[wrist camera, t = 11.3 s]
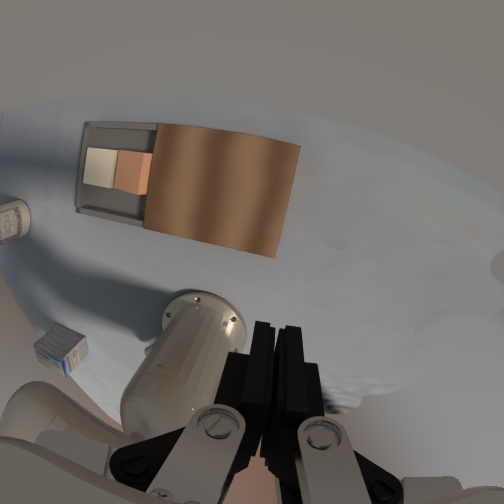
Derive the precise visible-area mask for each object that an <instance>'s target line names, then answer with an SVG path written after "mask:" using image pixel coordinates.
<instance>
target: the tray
mask: <svg viewBox="0 0 504 504" xmlns="http://www.w3.org/2000/svg"><path fill="white" fill-rule="evenodd" d="M158 126H159V124H149V123H131V122H86V125H85V130H84V136H83V142H82V149H81V156H80V164H79V173H78V183H77V196H76V212H77V213H81V214H86V215H90V216H95V217H99V218H103V219H108V220H112V221H117V222H121V223H125V224H130V225H134V226H138V227H144V217H145V208H146V199H147V194H142V195H137V194H133V193H130V192H126V191H123V190H119V189H116V188H106V187H101V186H96V185H91V184H85V183H83V178H84V170H85V162H86V156H87V149H88V147H91V148H104V149H113V150H129V151H137V152H145V153H152V154H153V152H154V147H155V141H156V136H157V131H158Z"/></svg>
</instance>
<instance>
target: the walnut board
mask: <svg viewBox="0 0 504 504" xmlns="http://www.w3.org/2000/svg"><path fill="white" fill-rule="evenodd" d="M300 148H301V146H299V145H295V144H291V143H286V142H282V141H277V140H272V139H267V138H262V137H257V136H252V135H246V134H241V133H235V132H228V131H222V130H215V129H208V128H200V127H192V126H183V125H173V124H161V123H159V126H158V131H157V136H156V141H155V147H154V152H153V158H152V164H151V171H150V177H149V184H148V191H147V199H146V208H145V217H144V227H143V228H144V229H148V230H153V231H157V232H161V233H166V234H170V235H174V236H179V237H183V238H188V239H192V240H196V241H201V242H205V243H210V244H214V245H218V246H223V247H227V248H231V249H236V250H240V251H245V252H249V253H253V254H258V255H262V256H267V257H271V258H275V256H276V252H277V248H278V244H279V240H280V235H281V231H282V227H283V223H284V218H285V214H286V210H287V206H288V201H289V197H290V193H291V188H292V184H293V179H294V175H295V170H296V166H297V161H298V157H299V152H300Z"/></svg>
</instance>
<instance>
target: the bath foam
mask: <svg viewBox="0 0 504 504" xmlns="http://www.w3.org/2000/svg"><path fill="white" fill-rule="evenodd" d="M30 222H31V219H30V212H29V209H28V207H27V205H26V204H25V203H24V202H23V201H22V200H17V201H12V202H8V203H4V204H1V205H0V245H2V244H5V243H7V242H10V241H12V240H15V239H17V238H19V237H22V236H24V235H26V234H27V233H28V231H29V228H30Z"/></svg>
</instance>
